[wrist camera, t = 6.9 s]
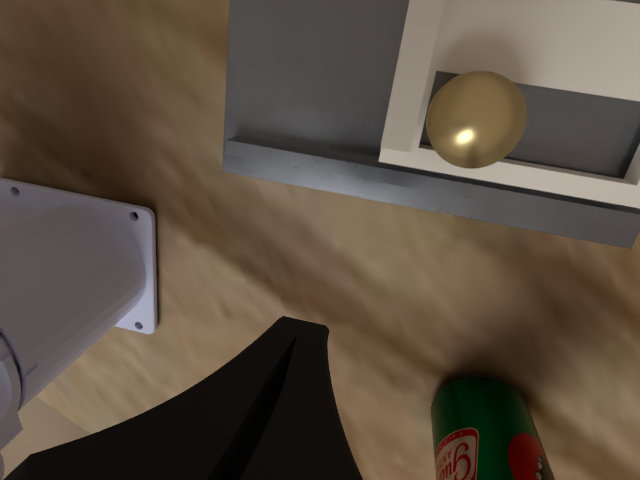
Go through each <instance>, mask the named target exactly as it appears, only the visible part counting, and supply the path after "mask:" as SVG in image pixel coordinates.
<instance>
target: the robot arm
mask: <svg viewBox="0 0 640 480" xmlns="http://www.w3.org/2000/svg"><path fill="white" fill-rule="evenodd" d="M17 189H18V190H19V192H18V191H17ZM134 212H136V213H137V214H138V217H139V218H136V217H135V216H134ZM139 322H140V323H141V324H142V325H143V326H142V325H140V323H139ZM113 326H116V327H120V328H125V329H129V330H133V331H137V332H141V333H145V334H152V333H153V332H154V331H155V330H156V329H157V327H158V322H157V279H156V236H155V215H154V213H153V211H152V210H151V209H149V208H147V207H143V206H138V205H133V204H128V203H123V202H118V201H113V200H109V199H104V198H99V197H94V196H89V195H84V194H79V193H74V192H69V191H64V190H60V189H55V188H50V187H45V186H40V185H35V184H30V183H25V182H20V181H16V180H11V179H6V178H0V451H1V450H2V449H3V448H4V447H5V446H6V445H7V444H8V443H9V442H10V441H11V440H12V439H13V438H14V437H15V436H16V435H17V434H19V433H20V432H21V431H22V429H23V427H22V425H21V422H20V420H19V417H18V411H19V410H20V409H22V408H23V407H24V406H25V405H26V404H27V403H28V402H29V401H31V400H32V399H33V398H34V397H35V396H36V395H37V394H38V393H39V392H41V391H42V390H43V389H44V388H45V387H46V386H47V385H48V384H50V383H51V382H52V381H53V380H54V379H55V378H56V377H57V376H58V375H60V374H61V373H62V372H63V371H64V370H65V369H66V368H67V367H69V366H70V365H71V364H72V363H73V362H74V361H75V360H76V359H78V358H79V357H80V356H81V355H82V354H83V353H84V352H85V351H86V350H88V349H89V348H90V347H91V346H92V345H93V344H94V343H95V342H97V341H98V340H99V339H100V338H101V337H102V336H103V335H104V334H105V333H107V332H108V331H109V330H110V329H111V328H112V327H113ZM328 335H329V329H328V328H327V326H325V325H321V324H316V323H312V322H307V321H303V320H299V319H294V318H290V317H285V316H283V317H281V318H279V319H278V320H277V321H276V322H275V323H274V324H273V325H272V326H271V327H270V328H269V329H268V330H267V331H266V332H264V333H263V334H262V335H261V336H260V337H259V338H258V339H257V340H255V341H254V342H253V343H252V344H251V345H249V346H248V347H247V348H246V349H244V350H243V351H242V352H241V353H240V354H238V355H237V356H236V357H235V358H233V359H232V360H231V361H229V362H228V363H226V364H225V365H224V366H222V367H221V368H219V369H218V370H217V371H215V372H214V373H213V374H211V375H210V376H208V377H207V378H205V379H204V380H202V381H200V382H199V383H197V384H196V385H194V386H192V387H191V388H189V389H187V390H186V391H184V392H182V393H181V394H179V395H177V396H175V397H173V398H171V399H170V400H168V401H166V402H164V403H162V404H160V405H158V406H156V407H154V408H152V409H150V410H148V411H146V412H144V413H142V414H140V415H138V416H135V417H133V418H131V419H129V420H126V421H124V422H122V423H119V424H117V425H114V426H112V427H109V428H107V429H104V430H102V431H99V432H97V433H94V434H91V435H88V436H86V437H83V438H80V439H77V440H74V441H71V442H68V443H65V444H62V445H59V446H56V447H53V448H50V449H47V450H44V451H41V452H37V453H34V454H31V455H29V456H28V457H27V458H26V459H25V460H24V461H23V462H22V463H21V464H20V465H19V466H18V467H16V468H15V469H14V470H13V471H12V472H11V473H10V474H9V475H8V476H7V477H6V478H5V479H4V480H363V479H362V476H361V474H360V472H359V470H358V467H357V465H356V463H355V460H354V458H353V456H352V453H351V450H350V447H349V445H348V442H347V439H346V436H345V433H344V430H343V427H342V424H341V421H340V417H339V414H338V410H337V406H336V402H335V398H334V393H333V389H332V384H331V377H330V371H329V364H328V351H327V341H328ZM4 466H5V465H4V461H3V457H2V455H1V454H0V480H2V478H3V475H4Z"/></svg>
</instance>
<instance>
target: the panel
mask: <svg viewBox="0 0 640 480" xmlns="http://www.w3.org/2000/svg"><path fill="white" fill-rule="evenodd" d="M436 71H442V72H448V73H455V74H464V73H467V72H472V71H489V72H494V73H498V74H500V75H503V76H505V77H506V78H508V79H510V80H511V81H512V82H514V83H521V84H527V85H534V86H540V87H547V88H554V89H560V90H567V91H573V92H580V93H586V94H593V95H600V96H606V97H613V98H619V99H626V100H633V101H639V102H640V4H636V3H628V2H620V1H613V0H409V6H408V11H407V16H406V21H405V26H404V31H403V36H402V41H401V46H400V51H399V56H398V61H397V66H396V71H395V76H394V81H393V86H392V91H391V97H390V102H389V107H388V112H387V117H386V122H385V127H384V132H383V137H382V142H381V147H380V148H381V152H380V157H379V162H383V163H389V164H395V165H400V166H406V167H411V168H417V169H422V170H428V171H434V172H439V173H445V174H450V175H456V176H462V177H467V178H473V179H478V180H484V181H490V182H495V183H501V184H506V185H512V186H517V187H523V188H529V189H534V190H540V191H545V192H551V193H557V194H562V195H568V196H573V197H579V198H584V199H590V200H596V201H601V202H607V203H612V204H618V205H624V206H629V207H635V208H640V144H639V146H638V148H637V150H636V152H635V155H634V157H633V159H632V161H631V164H630V166H629V168H628V170H627V173H626V175H625V177H624V179H620V178H615V177H609V176H603V175H597V174H591V173H586V172H580V171H574V170H568V169H562V168H557V167H551V166H545V165H539V164H533V163H528V162H522V161H516V160H510V159H504V158H503V159H501V160H500V161H498V162H496V163H494V164H492V165H489V166H486V167H482V168H476V169H467V168H461V167H457V166H454V165H452V164H450V163H448V162H446V161H445V160H444V159H442V158H441V157H440V156H439V155H438V154H437V153H436V151H435V150H434V148H433V147H432V146H429V145H423V144H419V143H420V138H421V134H422V130H423V125H424V121H425V117H426V113H427V108H428V104H429V100H430V96H431V91H432V87H433V83H434V79H435V74H436Z"/></svg>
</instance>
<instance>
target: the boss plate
mask: <svg viewBox="0 0 640 480" xmlns="http://www.w3.org/2000/svg"><path fill="white" fill-rule="evenodd" d="M613 1H620V2H628V3H636V4H640V0H613ZM408 6H409V0H230V12H229V34H228V56H227V79H226V101H225V123H224V145H223V167H222V171H223V172H229V173H234V174H239V175H244V176H250V177H255V178H260V179H266V180H271V181H276V182H281V183H287V184H292V185H297V186H302V187H308V188H313V189H318V190H323V191H329V192H334V193H339V194H345V195H350V196H355V197H360V198H366V199H371V200H376V201H381V202H387V203H392V204H397V205H403V206H408V207H413V208H418V209H424V210H429V211H434V212H439V213H445V214H450V215H455V216H461V217H466V218H471V219H476V220H482V221H487V222H492V223H497V224H503V225H508V226H513V227H519V228H524V229H529V230H534V231H540V232H545V233H550V234H555V235H561V236H566V237H571V238H577V239H582V240H587V241H592V242H598V243H603V244H608V245H613V246H619V247H624V248H629V249H631V248H632V246H633V244H634V242H635V240H636V238H637V236H638V234H639V232H640V208H635V207H629V206H624V205H618V204H612V203H607V202H601V201H596V200H590V199H584V198H579V197H573V196H568V195H562V194H557V193H551V192H545V191H540V190H534V189H529V188H523V187H517V186H512V185H506V184H501V183H495V182H490V181H484V180H478V179H473V178H467V177H462V176H456V175H450V174H445V173H439V172H434V171H428V170H422V169H417V168H411V167H406V166H400V165H395V164H389V163H383V162H379V157H380V152H381V148H380V147H381V142H382V137H383V132H384V127H385V122H386V117H387V112H388V107H389V102H390V97H391V91H392V86H393V81H394V76H395V71H396V66H397V61H398V56H399V51H400V46H401V41H402V36H403V31H404V26H405V21H406V16H407V11H408ZM419 144H423V145H429V146H432V147H433V148H434V150H435V151H436V153H437V154H438V155H439V156H440V157H441V158H442V159H444V160H445V161H446V162H448V163H450V164H452V165H454V166H457V167H461V168H467V169H476V168H482V167H486V166H489V165H492V164H494V163H496V162H498V161H500V160H501V159H503V158H504V159H510V160H516V161H522V162H528V163H533V164H539V165H545V166H551V167H557V168H562V169H568V170H574V171H580V172H586V173H591V174H597V175H603V176H609V177H615V178H620V179H624V177H625V175H626V173H627V170H628V168H629V166H630V164H631V161H632V159H633V157H634V155H635V152H636V150H637V148H638V146H639V144H640V102H639V101H633V100H626V99H619V98H613V97H606V96H600V95H593V94H586V93H580V92H573V91H567V90H560V89H554V88H547V87H540V86H534V85H527V84H521V83H514V82H512V81H511V80H510V79H508V78H506V77H505V76H503V75H500V74H498V73H494V72H489V71H472V72H467V73H464V74H455V73H448V72H442V71H436V74H435V79H434V83H433V87H432V91H431V96H430V100H429V104H428V108H427V113H426V117H425V121H424V125H423V130H422V134H421V138H420V143H419Z"/></svg>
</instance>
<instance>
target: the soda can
mask: <svg viewBox="0 0 640 480" xmlns="http://www.w3.org/2000/svg"><path fill="white" fill-rule="evenodd" d="M431 422H432V434H433V446H434V458H435V470H436V480H555V478H554V476H553V473H552V470H551V468H550V465H549V462H548V460H547V457H546V454H545V451H544V449H543V446H542V443H541V441H540V438H539V435H538V433H537V430H536V427H535V424H534V422H533V419H532V416H531V414H530V411H529V408H528V406H527V403H526V401H525V399H524V398H523V397H522V395H521V394H520V393H519V392H518V391H517V390H516V389H515V388H513V387H512V386H510V385H508V384H507V383H504V382H502V381H500V380H497V379H493V378H489V377H484V376H471V377H465V378H461V379H458V380H455V381H453V382H451V383H449V384H448V385H447V386H445V387H444V388H442V389H441V390H440V391H439V392H438V394H437V395H436V396H435V398H434V400H433V402H432V406H431Z"/></svg>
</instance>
